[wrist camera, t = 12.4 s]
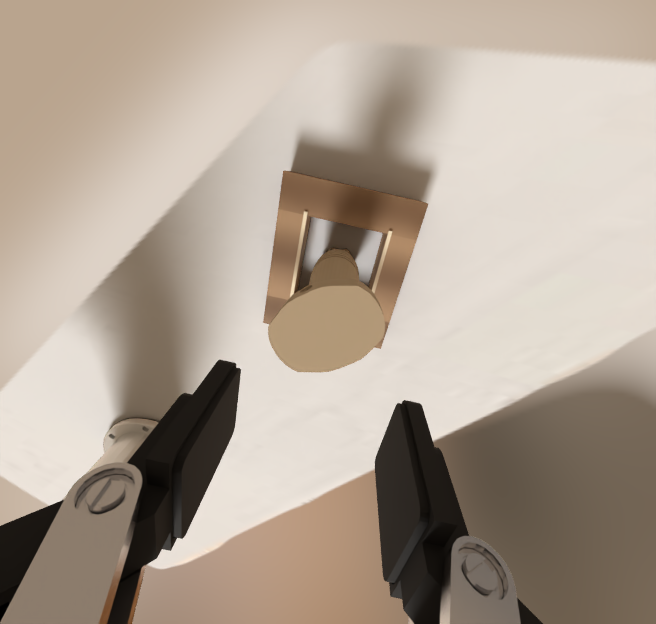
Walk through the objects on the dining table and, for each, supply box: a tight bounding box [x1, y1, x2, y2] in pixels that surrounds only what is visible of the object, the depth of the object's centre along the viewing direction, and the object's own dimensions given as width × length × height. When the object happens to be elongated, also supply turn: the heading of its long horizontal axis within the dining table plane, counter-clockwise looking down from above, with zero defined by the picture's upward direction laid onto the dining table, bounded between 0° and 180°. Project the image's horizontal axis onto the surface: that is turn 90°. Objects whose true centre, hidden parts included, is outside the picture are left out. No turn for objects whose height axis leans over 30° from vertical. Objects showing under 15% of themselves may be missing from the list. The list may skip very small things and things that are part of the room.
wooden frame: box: [263, 171, 428, 349], centre depth 29 cm, size 14×12×3 cm
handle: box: [268, 247, 385, 372], centre depth 23 cm, size 5×6×15 cm
